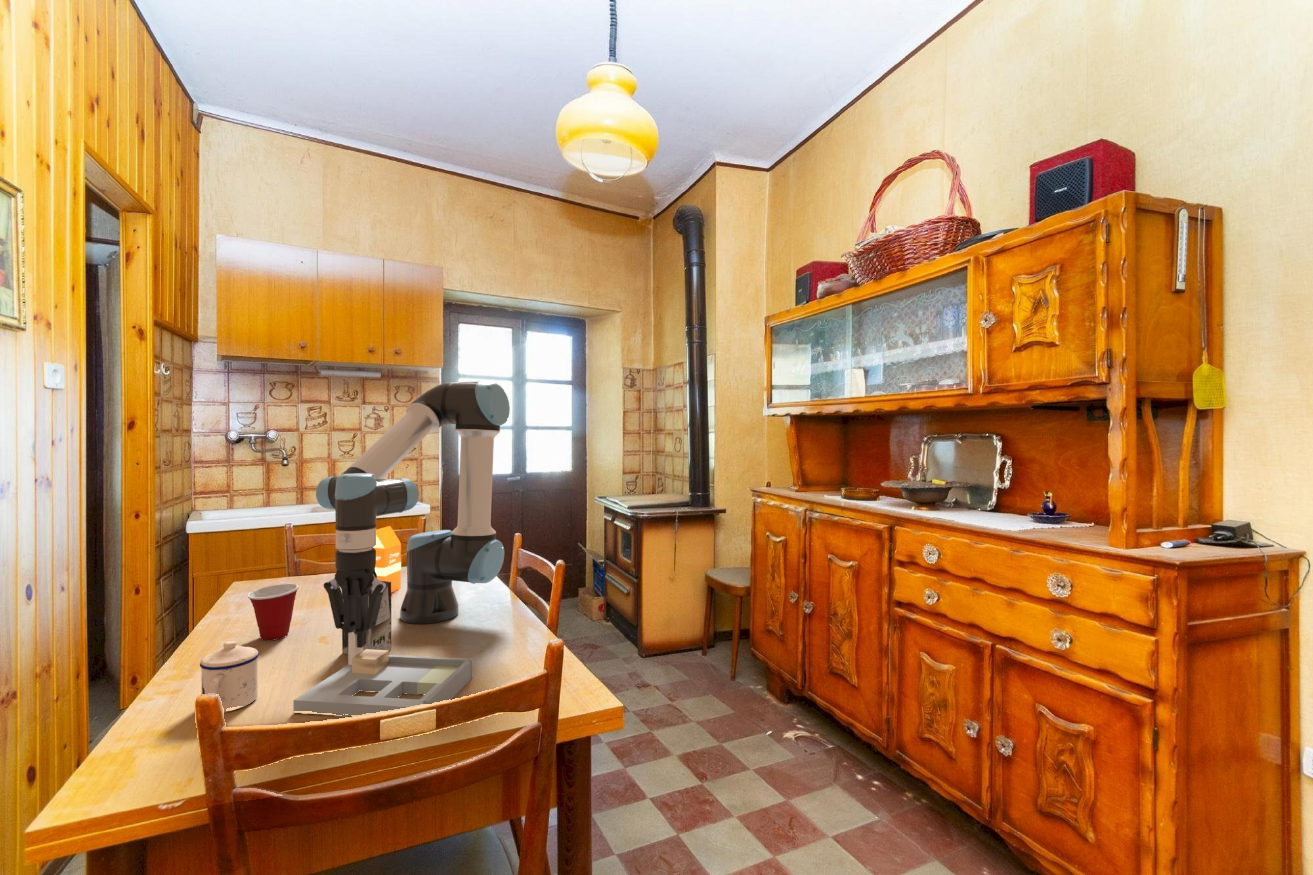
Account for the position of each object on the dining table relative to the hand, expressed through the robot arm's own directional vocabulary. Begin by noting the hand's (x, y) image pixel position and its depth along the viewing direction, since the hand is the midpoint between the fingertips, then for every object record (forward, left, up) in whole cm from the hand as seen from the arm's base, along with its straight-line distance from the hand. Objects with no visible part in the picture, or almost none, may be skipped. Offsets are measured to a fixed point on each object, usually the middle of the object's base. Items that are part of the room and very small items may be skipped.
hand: (355, 662), depth 125 cm
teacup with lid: (+14, -17, -4) cm, 22 cm away
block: (0, +3, -1) cm, 3 cm away
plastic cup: (-21, -35, -4) cm, 41 cm away
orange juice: (-63, -31, -4) cm, 70 cm away
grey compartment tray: (+6, +10, -4) cm, 12 cm away
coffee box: (-15, -7, -4) cm, 17 cm away
